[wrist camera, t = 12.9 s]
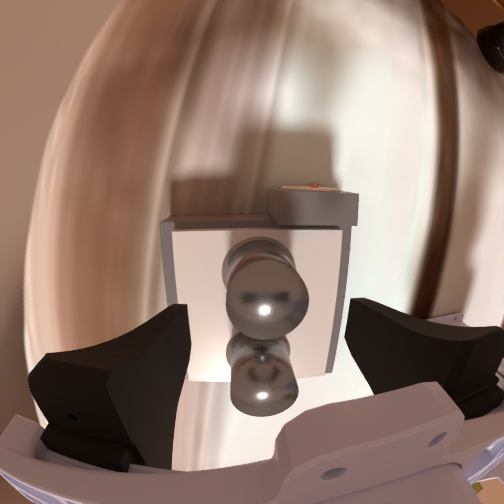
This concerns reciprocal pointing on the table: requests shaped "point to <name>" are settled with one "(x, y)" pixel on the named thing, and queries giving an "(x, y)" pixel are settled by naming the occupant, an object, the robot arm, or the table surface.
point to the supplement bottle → (493, 45)
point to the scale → (299, 253)
